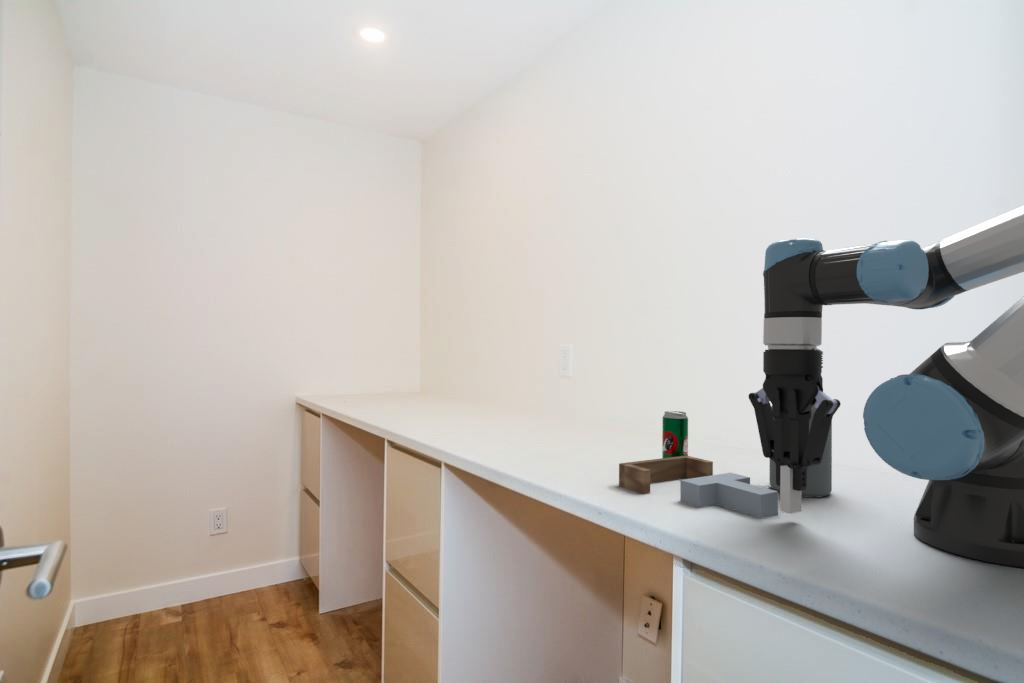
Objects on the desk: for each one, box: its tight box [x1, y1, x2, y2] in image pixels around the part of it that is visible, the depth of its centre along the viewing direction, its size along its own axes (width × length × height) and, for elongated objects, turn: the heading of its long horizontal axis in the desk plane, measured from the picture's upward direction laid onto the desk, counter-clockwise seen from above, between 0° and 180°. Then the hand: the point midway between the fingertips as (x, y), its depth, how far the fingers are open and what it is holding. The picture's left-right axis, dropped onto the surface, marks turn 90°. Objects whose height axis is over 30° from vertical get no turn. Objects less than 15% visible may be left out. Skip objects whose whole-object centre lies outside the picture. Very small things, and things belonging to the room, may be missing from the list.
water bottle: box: [769, 348, 833, 498], centre depth 96 cm, size 10×10×28 cm
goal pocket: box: [618, 455, 714, 495], centre depth 100 cm, size 6×17×4 cm, turn 118°
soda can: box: [661, 410, 689, 458], centre depth 111 cm, size 5×5×12 cm
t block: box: [679, 472, 779, 519], centre depth 86 cm, size 12×12×4 cm
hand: (790, 510), depth 78 cm, fingers closed
